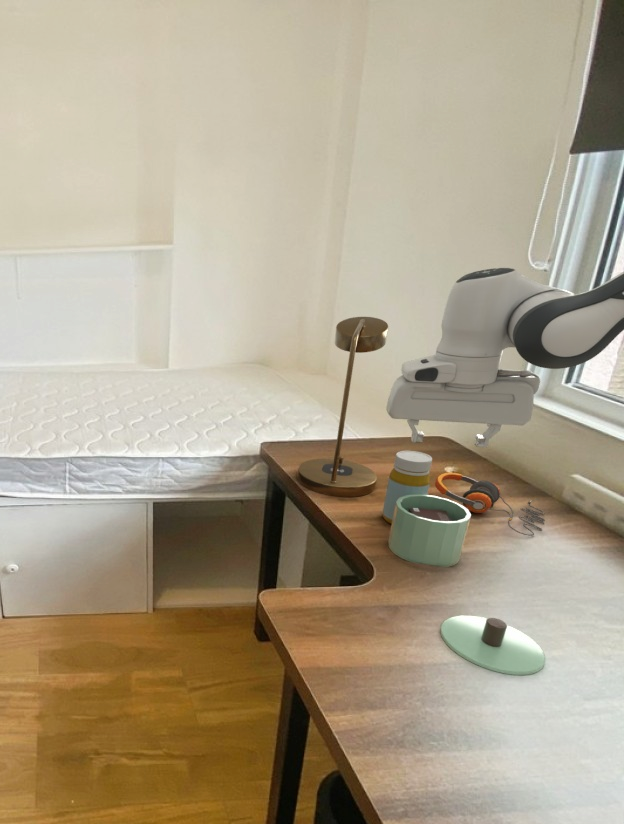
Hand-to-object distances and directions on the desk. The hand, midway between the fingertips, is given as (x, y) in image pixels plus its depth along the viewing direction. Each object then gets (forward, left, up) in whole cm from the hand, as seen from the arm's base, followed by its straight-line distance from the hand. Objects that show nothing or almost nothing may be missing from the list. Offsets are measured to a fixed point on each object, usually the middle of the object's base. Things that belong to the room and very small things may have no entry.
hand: (447, 443), depth 99 cm
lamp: (+13, -34, -23) cm, 43 cm away
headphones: (-15, -22, -23) cm, 35 cm away
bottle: (+2, -12, -23) cm, 26 cm away
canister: (0, 0, -23) cm, 23 cm away
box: (0, 0, -22) cm, 22 cm away
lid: (-4, +27, -22) cm, 35 cm away
